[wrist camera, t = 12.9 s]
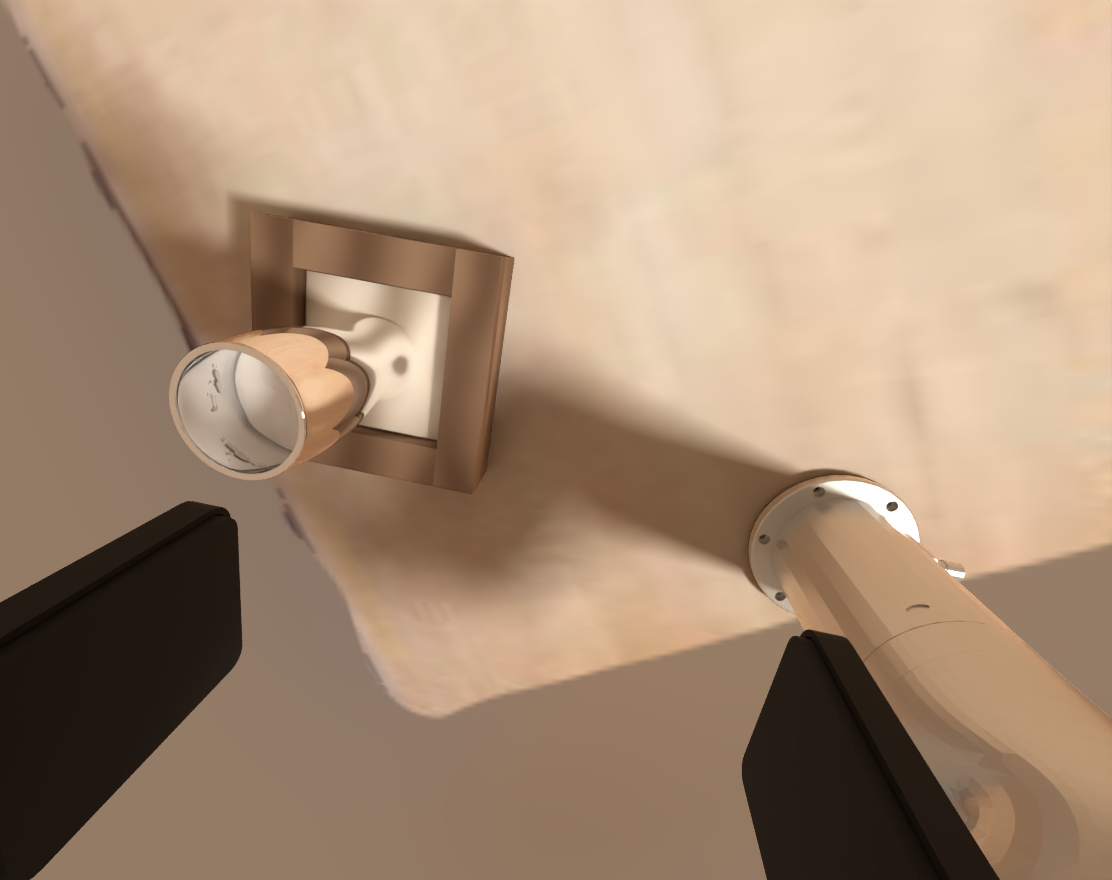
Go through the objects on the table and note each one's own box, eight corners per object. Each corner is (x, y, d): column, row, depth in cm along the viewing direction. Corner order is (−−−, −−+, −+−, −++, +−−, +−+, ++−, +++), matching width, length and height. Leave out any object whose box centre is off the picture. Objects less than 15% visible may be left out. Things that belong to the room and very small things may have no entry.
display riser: (514, 257, 38) (501, 256, 33) (485, 471, 43) (471, 493, 39) (289, 217, 38) (249, 211, 34) (290, 432, 44) (255, 450, 40)
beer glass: (346, 411, 39) (195, 491, 25) (319, 317, 37) (139, 349, 23) (433, 399, 38) (327, 477, 24) (411, 303, 36) (281, 326, 22)
